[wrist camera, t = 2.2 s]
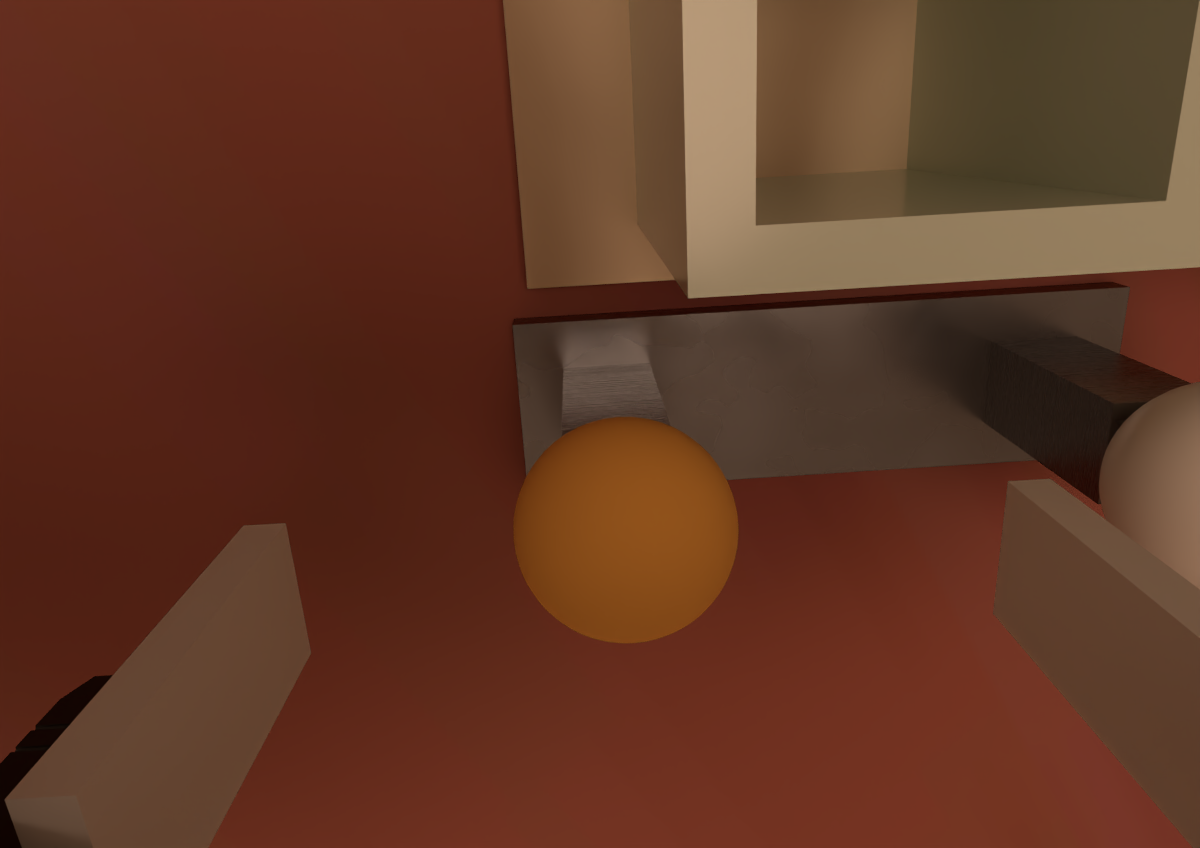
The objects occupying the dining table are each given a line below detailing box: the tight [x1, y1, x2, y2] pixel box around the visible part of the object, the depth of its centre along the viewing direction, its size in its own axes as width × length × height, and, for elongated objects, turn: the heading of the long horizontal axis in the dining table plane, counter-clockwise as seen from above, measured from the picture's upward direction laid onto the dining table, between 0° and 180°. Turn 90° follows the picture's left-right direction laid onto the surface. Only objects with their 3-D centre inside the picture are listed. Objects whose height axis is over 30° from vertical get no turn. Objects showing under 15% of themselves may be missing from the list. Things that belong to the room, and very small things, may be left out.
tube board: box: [503, 0, 917, 289], centre depth 21 cm, size 26×11×1 cm, turn 93°
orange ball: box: [513, 417, 738, 643], centre depth 17 cm, size 4×4×4 cm
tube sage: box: [629, 0, 1200, 298], centre depth 16 cm, size 8×8×10 cm
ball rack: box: [513, 282, 1191, 504], centre depth 22 cm, size 17×5×6 cm, turn 93°
